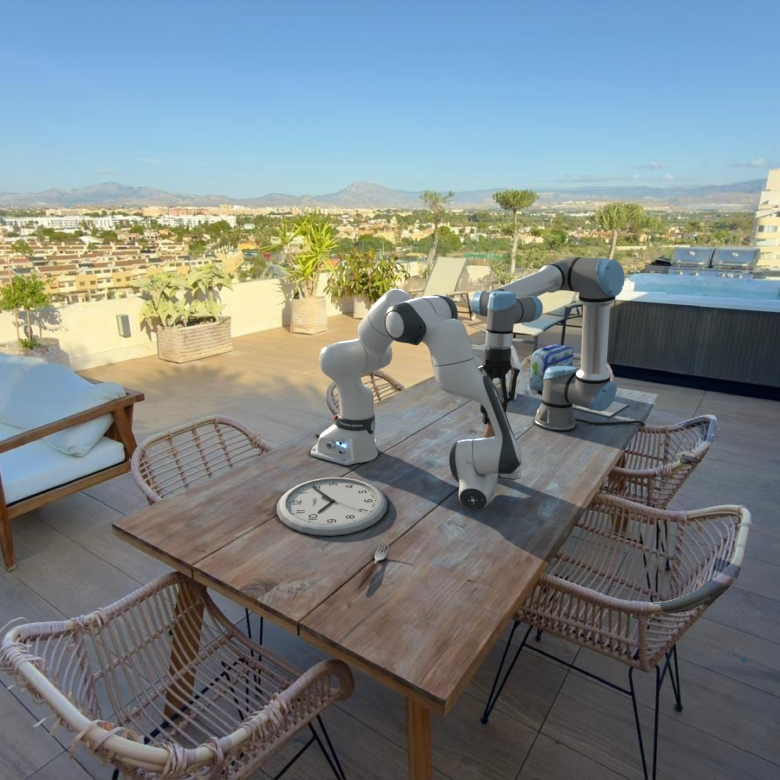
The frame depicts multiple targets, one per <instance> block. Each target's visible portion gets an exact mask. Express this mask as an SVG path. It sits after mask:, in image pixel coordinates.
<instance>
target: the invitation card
mask: <svg viewBox="0 0 780 780" xmlns="http://www.w3.org/2000/svg"><path fill="white" fill-rule="evenodd" d="M628 406H629V404H627V403H623V402H618V401H614V400H613V402H612V403H611V405H610V406H609V407H608V408H607V409H606V410H604V411H595V410H590V409H588V408H584V407H581V406H577V405H575V406H574V407H573V409H575V410H581V411H584V412H587V413H593V414H596V415H600V416H604V417H608V418H609V417H611V416H613V415H614V414H616V413H617V412H619V411H621V410H623V409H624V408H626V407H628Z"/></svg>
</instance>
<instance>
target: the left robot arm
mask: <svg viewBox="0 0 780 780" xmlns="http://www.w3.org/2000/svg"><path fill="white" fill-rule="evenodd" d="M458 317H459V311H458V306H457V305H456V302H455V301H454V300H453V299H452V298H451V297H450V296H446V295H444V294H443V295H442V294H433V295H427V296H418V297H416V298H412V296H411V295H410V294H409V293H408V292H406V291H405V290H403V289H400V288H392V289H389V290H388V291H386V292H385V293H384V294H382V295H381V296H380V297H379V298H378V299H377V300H376V301H375V302H374V303H373V304H372V306H371V307H370V308H369V310H368V311H367V313H366V314H365V315H364V316H363V318H362V319H361V321H359V324H358V326H357V337H358V338H354V339H350V340H343V341H337V342H334V343H331V344H328V345H326V346H324V347H322V348H321V350H320V353H319V356H318V365H319V368H320V370H321V371H322V373H323V374H324V375H325V376H326V377H327V378H329V379H330V380H331V381H332V382H333V383H334V384H335V386H336V389H337V392H338V402H339V410H338V411H337V413H336V414H335V415H334V416H333V417H332V422H334V423H333V424H331V425H330V426H327V427H326V428H325V430H323V431H322V432H321V433H320V434H317V433H316V434H315V437H316V438H318V440H317V443H316V444H314V445H313V447H312V448H311V449H310V456H311V457H314V458H318V459H322V460H325V461H329V462H333V463H336V464H339V465H344V466H351V465H354V464H361V463H367V462H370V461H373V460H375V459H376V458H377V457H378V455H379V451H378V448H377V443H376V442H377V441H376V437H375V430H376V414H375V412H374V409H375V408H374V404H375V400H374V399H375V396H374V392H373V389H372V388H371V387H369V385H367V384H364V383H362V379H361V378H362V377H361V375H362V374H368V373H373V372H376V371H379V370H381V369H383V368H386V367H387V366H389V365H390V364H391V362H392V360H393V348H392V346H391V345H392V343H393V342H394V341H395V342H397V343H402V344H409V345H412V346H419V345H420V344H421V343H423V344H425V346H426V347H427V349H428V350H429V354H430V360H431V365H432V371H433V376H434V379H435V381H436V384H437V385H438V386H439V388H440V389H441V390H442V391H444V392H446V393H448V394H449V395H451V396H455V397H459V398H462V399H468V400H471V401H474V402H476V403H478V404H481V405H482V406H483V407H484V408H485V409H486V411H487V414H488V417H489V419H490V422H491V425H492V427H493V430H494V433H495V436H493V437H484V436H483V437H475V438H474V437H473V438H464V439H458V440H457V441H455V443H454V444H453V445H452V447H451V449H450V452H449V456H448V457H449V458H448V460H449V461H448V463H449V464H448V465H449V468H450V469H449V470H450V471H451V475H452V480H453V481H456V482H457V483H458V484H459V485H458V500H459V502H460V504H461V505H462V506H463V507H464V508H466V509H468V510H470V511H479V510H483V509H485V508H486V507H487V506H488V505H489V503H490V502H491V500H492V498H493V496H494V493H495V488H496V486H497V484H498V480H503V481H510V482H515V481H517V480H520V479H521V478H522V466H523V462H522V459H523V457H522V456H523V455H522V449H521V447H520V444H519V443H518V440H517V438H516V436H515V434H514V432H513V429H512V426H511V424H510V421H509V418H508V416H507V412H506V413H505V410H504V408H503V405H502V402H501V401H502V399H501V397H500V394H499V392H498V390H497V387H496V385H495V384H494V382H493V381H492V380H491V379H490V377H488V376H485V375H483V374H482V373H481V371H480V370H479V368H478V367H477V365H476V362H475V358H474V354H473V349H472V347H473V346H472V345H473V344H472V342H471V339H470V336H469V333H468V331H467V328H466V326H465V324H464V323H463V322H462V321H461V320H458Z"/></svg>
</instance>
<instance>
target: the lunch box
mask: <svg viewBox="0 0 780 780" xmlns="http://www.w3.org/2000/svg"><path fill="white" fill-rule="evenodd" d="M530 359H531V360H530V366H529V377H528V379H529V380H528V387H529V390H531V391H536V392H541V393H542V391H543V381H544V379H543V378H544V374H545V371H546V369H547V368H550V367H554V366H572V367H573V363H574V347H572V346H568V345H562V344H551V345H547V346H545V347H541V348H539V349H536V350H534V352H533V353H532V355H531V358H530Z"/></svg>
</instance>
